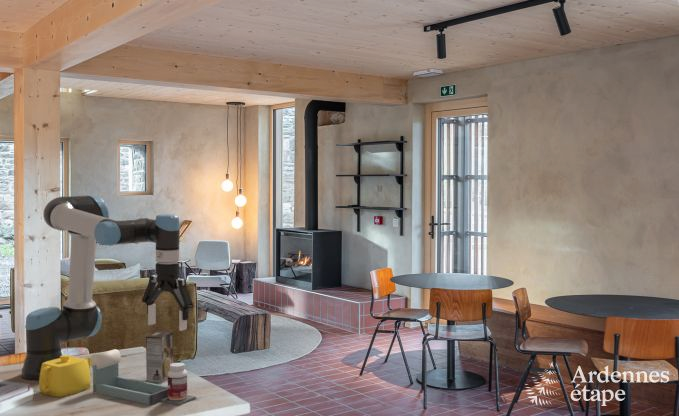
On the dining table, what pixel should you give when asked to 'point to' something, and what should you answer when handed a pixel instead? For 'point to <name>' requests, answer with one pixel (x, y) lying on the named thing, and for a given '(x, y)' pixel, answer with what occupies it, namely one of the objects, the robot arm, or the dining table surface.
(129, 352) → the dining table surface
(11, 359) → the dining table surface
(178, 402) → the coaster
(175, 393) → the pill bottle
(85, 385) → the teapot
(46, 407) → the dining table surface
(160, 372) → the coffee box
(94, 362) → the teal rectangular frame
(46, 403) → the dining table surface
